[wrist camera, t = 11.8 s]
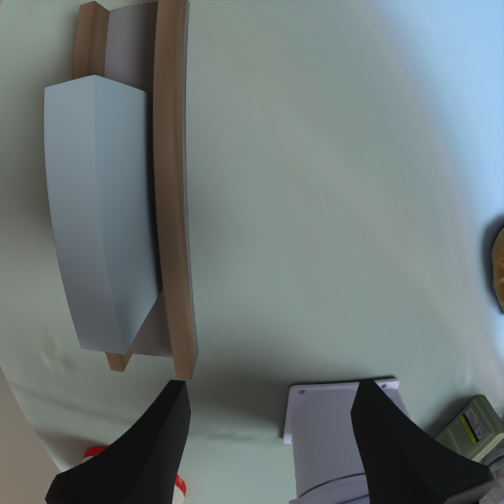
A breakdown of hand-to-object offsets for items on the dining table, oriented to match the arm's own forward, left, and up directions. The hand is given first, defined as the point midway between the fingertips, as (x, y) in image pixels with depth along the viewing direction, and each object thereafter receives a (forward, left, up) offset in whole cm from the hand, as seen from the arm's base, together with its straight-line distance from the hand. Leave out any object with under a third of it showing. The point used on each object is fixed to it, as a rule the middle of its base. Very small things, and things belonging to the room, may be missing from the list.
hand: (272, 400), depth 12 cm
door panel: (+8, -7, -9) cm, 14 cm away
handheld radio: (-20, +25, -10) cm, 33 cm away
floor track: (+8, -7, -9) cm, 14 cm away
